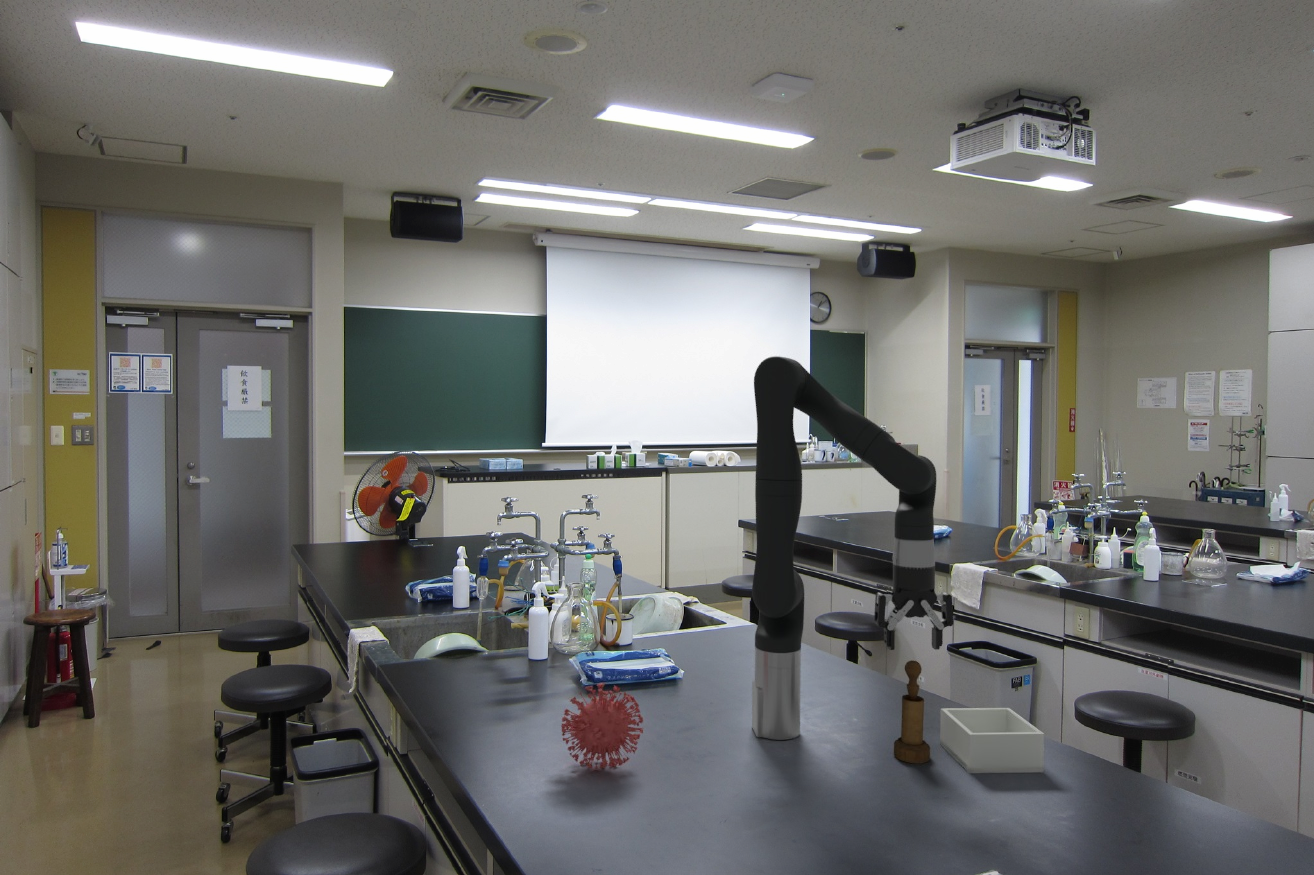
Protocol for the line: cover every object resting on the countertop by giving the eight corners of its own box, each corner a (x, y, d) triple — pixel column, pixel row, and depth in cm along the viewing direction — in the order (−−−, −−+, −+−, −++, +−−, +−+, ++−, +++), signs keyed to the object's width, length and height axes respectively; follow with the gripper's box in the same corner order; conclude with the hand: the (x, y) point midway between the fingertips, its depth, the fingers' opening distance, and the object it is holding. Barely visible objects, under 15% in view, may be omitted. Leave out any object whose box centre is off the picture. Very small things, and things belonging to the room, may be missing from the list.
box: (969, 773, 152) (969, 734, 152) (940, 744, 166) (940, 708, 166) (1043, 772, 153) (1044, 733, 153) (1008, 743, 166) (1008, 708, 166)
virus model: (653, 757, 158) (654, 677, 158) (624, 790, 144) (625, 703, 144) (581, 746, 163) (581, 669, 163) (546, 777, 149) (546, 693, 149)
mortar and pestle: (931, 765, 156) (933, 667, 155) (895, 762, 157) (896, 665, 157) (927, 751, 162) (929, 657, 162) (892, 748, 164) (893, 655, 163)
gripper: (882, 566, 155) (882, 655, 155) (959, 565, 155) (958, 653, 156) (870, 559, 162) (869, 644, 163) (943, 558, 163) (942, 643, 163)
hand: (913, 648), depth 159 cm, fingers open, 8 cm apart
